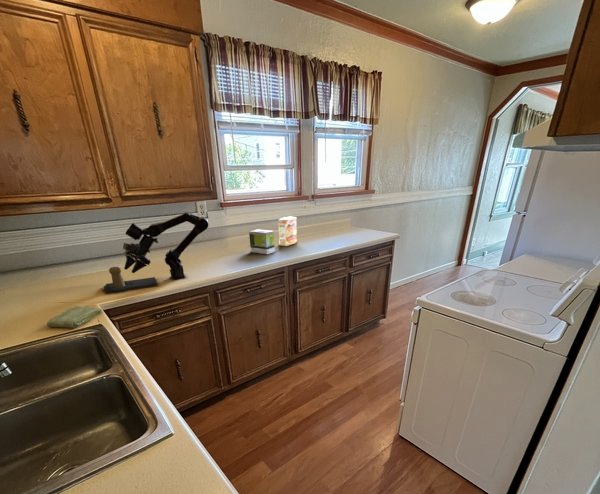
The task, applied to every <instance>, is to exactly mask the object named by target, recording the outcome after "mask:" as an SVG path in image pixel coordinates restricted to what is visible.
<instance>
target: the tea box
mask: <svg viewBox="0 0 600 494" xmlns="http://www.w3.org/2000/svg"><path fill="white" fill-rule="evenodd" d="M248 236H249V248H250V253H255V254H262V255H270V254H273V253H275V252H276V244H275V231H274V230H267V229H254V230H249V231H248Z"/></svg>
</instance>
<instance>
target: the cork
mask: <svg viewBox="0 0 600 494" xmlns="http://www.w3.org/2000/svg"><path fill="white" fill-rule="evenodd" d="M108 272H109V274H110V276H111V281H112V282H111V283H113V288H119V287H124V286H126V285H125V283H124V281H125V280H124V278H123V276H122V274H121V272H122V270H121V268H120V267H119V266H112V267H110V268H109V269H108Z"/></svg>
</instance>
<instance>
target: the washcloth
mask: <svg viewBox="0 0 600 494" xmlns="http://www.w3.org/2000/svg"><path fill="white" fill-rule="evenodd" d="M102 310H103V309H102V308H99V307H95V306H94V307H93V306H87V305H86V306H85V305H84V306H81V305H76V306H73V307H70V308H68V309H66V310H65V311H62V312H61V313H59V314H57V315H55V316H53V317H52V318H49V320H48V321H47V322H46V326H47V327H49V328H68V329H69V328H70V329H74V328H75V329H76V328H78V327H79V326H81V325H83V324H87V322H88V321H90V320H91V319H93V318H94V317H96V316H97V315H98V314H99V313H101V311H102ZM83 321H84V322H83Z"/></svg>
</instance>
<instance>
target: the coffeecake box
mask: <svg viewBox="0 0 600 494" xmlns="http://www.w3.org/2000/svg"><path fill="white" fill-rule="evenodd" d="M297 218H298V217H296V216H286V217H282V218H281V217H280V218H278V243H279V244H278V245H279V246H282V247H288V246H291V245H293V244H297V241H298V240H297V239H298V238H297V237H298V236H297V234H298V233H297V232H298V231H297V230H298V229H297V228H298V226H297V222H298V221H297V220H298V219H297Z"/></svg>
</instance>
